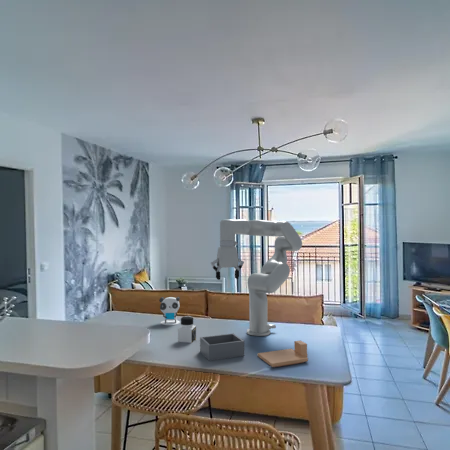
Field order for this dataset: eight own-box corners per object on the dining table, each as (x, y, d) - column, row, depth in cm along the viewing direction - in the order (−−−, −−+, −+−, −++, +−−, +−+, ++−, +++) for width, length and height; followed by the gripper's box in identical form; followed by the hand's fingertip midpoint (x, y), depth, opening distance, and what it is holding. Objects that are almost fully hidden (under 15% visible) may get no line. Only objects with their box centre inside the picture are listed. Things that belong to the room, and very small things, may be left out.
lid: (296, 353, 155) (295, 337, 155) (312, 363, 144) (312, 346, 144) (257, 358, 148) (257, 342, 149) (271, 369, 137) (271, 352, 137)
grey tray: (233, 348, 160) (233, 333, 161) (244, 357, 149) (244, 340, 149) (200, 353, 155) (200, 337, 155) (208, 362, 143) (208, 345, 144)
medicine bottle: (191, 344, 167) (191, 319, 167) (177, 343, 168) (177, 318, 168) (196, 339, 174) (196, 315, 174) (182, 338, 175) (182, 314, 175)
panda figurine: (158, 325, 201) (158, 299, 201) (161, 320, 212) (161, 295, 212) (178, 325, 201) (179, 299, 201) (181, 320, 212) (181, 295, 212)
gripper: (240, 243, 180) (240, 277, 180) (208, 244, 174) (208, 278, 173) (246, 244, 173) (246, 279, 173) (213, 244, 167) (213, 280, 166)
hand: (227, 279), depth 173 cm, fingers open, 9 cm apart
